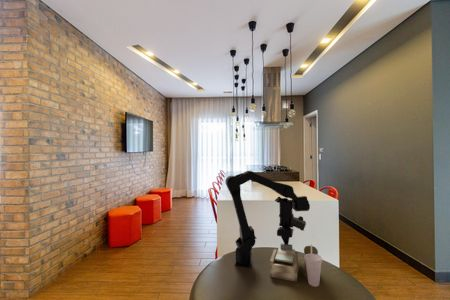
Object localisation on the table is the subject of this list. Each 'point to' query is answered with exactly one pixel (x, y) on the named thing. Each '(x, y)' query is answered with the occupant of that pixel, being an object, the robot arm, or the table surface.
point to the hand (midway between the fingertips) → (286, 246)
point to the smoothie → (313, 268)
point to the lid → (285, 253)
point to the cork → (308, 251)
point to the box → (284, 268)
